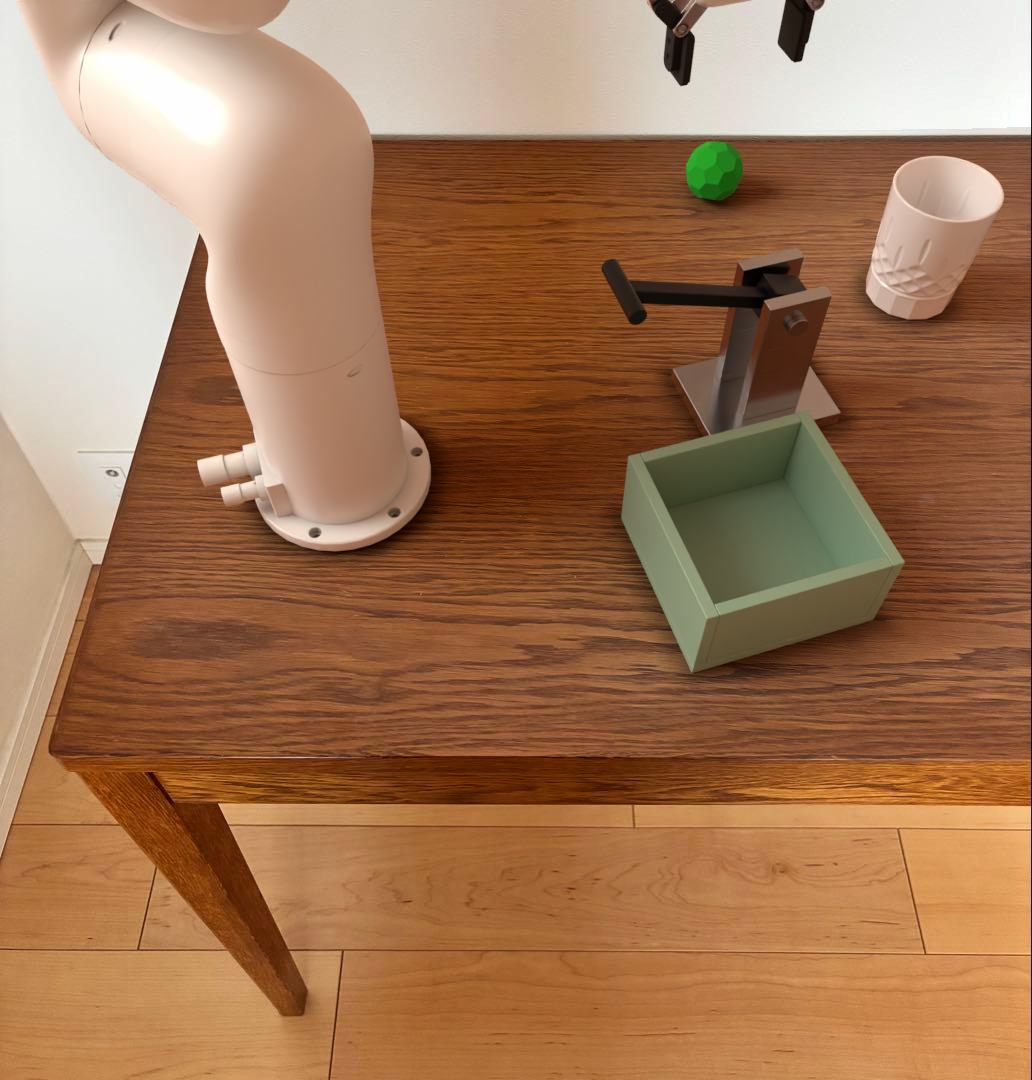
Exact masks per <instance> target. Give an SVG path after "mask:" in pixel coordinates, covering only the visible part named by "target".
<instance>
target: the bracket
mask: <svg viewBox="0 0 1032 1080" xmlns="http://www.w3.org/2000/svg"><path fill="white" fill-rule="evenodd" d="M804 260H805V256H804V255H803V253H802V251H801V250H800V249H799V247H793V248H790V249H785V250H781V251H776V252H771V253H767V254H763V255H760V256H759V255H758V256H755V257H750V258H746V259H742V260H738V261H737V264H736V269H735V273H734V278H733V284H732V286H749V287H756V286H757V284H758V282H759V281H760V279H761V277H762V275H763V274H764V273H766V274H782V275H796V276H798V278H800V275H801V274H800V273H801V270H802V266H803V263H804V262H803V261H804ZM832 297H833V294H832V293H831V291H830V290H829V289H828V287H827V286H826V285H822V286H819V287H815V288H810V289H807V290H806V291H801V292H797V293H793V294H789V295H784V296H780V297H776V298H772V299H767V300H764V302H763V306H762V311H761V315H760V319H758V317H757V316H756V314H755V312H754V311H753V309H752V308H730V307H727V311H726V312H727V313H726V317H725V321H724V327H723V332H722V336H721V341H720V346H719V349H718V350H719V351H718V356H717V357H715V358H710V359H706V360H702V361H698V362H693V363H690V364H686V365H682V366H677V367H673V368H672V369H671V370H672V371H671V378H670V379H671V383H673V385H674V387H675V389H676V391H677V392H678V394H679V396H680V398H681V400H682V402H683V403H684V405H685V408H686V409H687V411H688V412H689V415H690V416H691V418H692V420H693V422H694V423H695V425H696V427H697V430H698V431H699V433H700V435H701V437H705V436H709V435H713V434H717V433H721V432H725V431H729V430H733V429H737V428H741V427H745V426H748V425H752V424H756V423H760V422H764V421H768V420H772V419H776V418H780V417H784V416H788V415H791V414H797V413H799V412H803V411H808V412H809V413H810V415H811V416H812V418H813V420H814V421H815V423H816V424H817V426H818V427H819V428H823V427H827V426H831V425H834V424H835V425H836V424H837V423H838V421H839V419H840V417H841V410H840V409H839V407H838V406H837V404H836V403H835V402H834V399H832V397H831V395H830V394H829V392H828V391H827V389H826V387H825V386H824V384H823V383H822V381H821V380H820V379H819V377H818V376H817V375H816V373H815V371H814V369H813V368H812V367H811V363H812V361H813V357H814V355H815V351H816V348H817V344H818V342H819V338H820V335H821V331H822V330H823V329H822V328H823V327H824V326H823V325H824V322H825V319H826V316H827V313H828V310H829V307H830V303H831V301H832Z"/></svg>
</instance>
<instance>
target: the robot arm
mask: <svg viewBox="0 0 1032 1080" xmlns="http://www.w3.org/2000/svg"><path fill="white" fill-rule="evenodd" d="M290 1H291V0H15V2H16V4H17V6H18V9H19V12H20V14H21V16H22V19H23V21H24V24H25V26H26V28H27V30H28V31H27V32H28V33H29V35H30V38H31V41H32V43H33V44H34V47H35V49H36V53H37V54H38V57H39V59H40V62H41V64H42V66H43V68H44V71H45V73H46V75H47V77H48V80H49V82H50V84H51V87H52V89H53V91H54V93H55V94H56V96H57V99H58V100H59V102H60V104H61V106H62V108H63V109H64V111H65V113H66V114H67V116H68V118H69V120H70V121H71V122H72V125H74V127H75V128H76V130H77V131H78V132H79V133H80V135H81V136H82V137H83V138H84V139H85V140H86V141H87V142H88V143H89V144H90V145H91V146H92V147H93V148H94V149H95V150H97V151H98V152H99V153H100V154H101V155H102V156H104V157H105V158H106V159H108V160H109V161H110V162H112V163H113V164H114V165H115V166H117V167H118V168H119V169H121V170H122V171H124V172H125V173H127V174H128V175H130V176H131V177H133V178H134V179H135V180H136V181H138V182H140V183H141V184H143V185H144V186H145V187H147V188H148V189H150V190H151V191H152V192H153V193H154V194H155V195H157V196H158V197H159V198H161V199H162V200H163V201H164V202H166V203H168V204H169V205H170V206H172V207H173V208H175V209H176V210H177V211H178V212H179V213H181V214H182V215H183V216H184V217H185V218H186V219H188V221H189V222H191V224H192V225H193V226H194V227H195V228H196V229H197V231H198V233H199V234H200V237H201V238H202V240H203V242H204V245H205V247H206V250H207V255H208V259H207V260H208V262H207V270H206V273H205V293H206V299H207V302H208V306H209V311H210V314H211V317H212V320H213V323H214V325H215V328H216V331H217V334H218V337H219V339H220V342H221V344H222V346H223V348H224V351H225V354H226V356H227V359H228V361H229V364H230V367H231V370H232V373H233V376H234V378H235V381H236V384H237V386H238V387H237V388H238V390H239V392H240V395H241V398H242V400H243V404H244V406H245V409H246V411H247V414H248V418H249V419H250V423H251V425H252V428H253V429H252V431H253V435H254V442H250V443H247V444H243V445H242V451H237V452H233V453H228V454H225V455H224V453H222V454H218V455H214V456H210V457H206V458H201V459H198V460H197V461H196V462H197V469H198V472H199V476H200V477H199V478H200V480H201V482H202V485H203V486H204V488H207V487H211V486H215V485H219V484H223V483H229V482H232V481H231V480H234V479H239V478H244V477H247V476H249V477H250V479H251V481H248V482H247V481H246V482H242V483H240V482H238V483H233V484H230V485H226V486H222V487H220V493H221V497H222V498H221V499H222V500H223V503H224V506H225V507H226V508H229V507H231V506H237V505H240V504H244V503H245V502H248V501H253V500H254V501H255V504H256V506H257V509H258V512H259V513H260V515H261V516H262V519H263V520H264V522H265V523H266V524H267V526H269V528H270V529H271V530H273V532H274V533H276V534H277V535H278V536H280V537H282V538H283V539H285V540H286V541H287V542H290V543H292V544H295V545H296V546H299V547H302V548H307V549H311V550H315V551H324V552H326V551H327V552H342V551H343V552H344V551H351V550H356V549H360V548H361V549H362V548H365V547H369V546H371V545H375V544H376V543H378V542H381V541H383V540H385V539H387V538H389V537H390V536H392V535H394V534H395V533H397V532H398V531H400V530H402V528H403V527H404V526H406V525H407V524H408V523H409V522H411V520H412V519H413V518H414V517H415V516H416V514H417V513H418V512H419V510H420V509H421V508H422V507H423V505H424V503H425V500H426V498H427V496H428V494H429V491H430V486H431V482H432V465H431V461H430V454H429V450H428V448H427V446H426V443H425V441H424V439H423V438H422V437H421V436H420V434H419V432H418V431H417V430H416V429H415V428H414V427H413V426H412V425H411V424H410V423H409V422H408V421H406V420H405V419H403V418H401V415H400V409H399V403H398V397H397V393H396V386H395V381H394V375H393V369H392V363H391V357H390V351H389V346H388V340H387V339H388V338H387V334H386V328H385V323H384V317H383V311H382V306H381V299H380V293H379V288H378V282H377V276H376V269H375V262H374V252H373V245H372V244H373V243H372V203H373V190H374V175H375V155H374V146H373V145H374V144H373V141H372V140H373V139H372V136H371V131H370V128H369V125H368V123H367V120H366V118H365V117H364V114H363V112H362V110H361V108H360V107H359V106H358V104H357V102H356V101H355V99H354V98H353V97H352V95H351V94H350V92H348V91H347V89H346V88H345V87H344V86H343V85H342V83H340V82H339V81H338V80H337V79H336V78H335V77H334V76H333V75H332V74H331V73H329V72H328V71H327V70H326V69H324V68H323V67H322V66H321V65H319V64H318V63H317V62H315V61H314V60H313V59H311V58H309V57H308V56H306V55H305V54H303V53H301V51H298V50H296V49H295V48H293V47H291V46H290V45H287V44H286V43H284V42H282V41H280V40H278V39H276V38H275V37H273V36H271V35H269V34H267V33H266V32H264V31H262V30H261V29H260V28H263V27H265V26H267V25H269V24H270V23H271V22H273V21H274V20H275V19H277V18H278V17H279V16H280V15H281V14H282V13H283V12H284V11H285V9H286V8H287V6H288V5H289V3H290ZM750 1H752V0H646V2H647V5H648V7H649V8H650V9H651V11H652V12H653V13H654V15H655V16H656V17H657V18H658V19H659V20H660V21H661V22H662V23H663V24H664V25H665V26H666V29H665V40H664V48H663V65H664V67H665V70H667V72H668V73H670V74H671V76H672V77H673V78H674V80H675V81H676V82H677V85H679V87H684V86H687V85H689V84H690V82H691V76H692V67H693V62H694V61H693V60H694V53H695V45H696V37H695V35H694V33H693V32H692V31H691V30H692V29H693V27H694V26H695V25H696V24H697V23H698V21H699V20H700V18H702V16H703V15H704V13H705V12H706V11H707V10H708V9H709V8H718V7H724V6H730V5H734V4H740V3H745V2H750ZM825 3H826V0H785V2H784V5H783V12H782V17H781V21H780V27H779V30H778V31H779V32H778V38H777V46H778V47H779V48H780V49H781V50H782V51H783V53H784V54H785V55H786V56H787V58H788V59H789V60H790V61H791V62H793V63H800V62H802V61H803V59H804V55H805V50H806V45H807V44H808V43H809V40H810V36H811V32H812V27H813V23H814V18H815V14H816V11H819V10H820V9H821V8H823V6H824V4H825Z"/></svg>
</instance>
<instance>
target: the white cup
mask: <svg viewBox="0 0 1032 1080" xmlns="http://www.w3.org/2000/svg"><path fill="white" fill-rule="evenodd" d="M1004 200H1005V192H1004V189H1003V186H1002V184H1001V183H1000V181H999V180H998V179H997V178H996V176H994V175H993V174H992V173H991V172H990V171H989V170H987V169H985V168H983V167H982V166H981V165H978V164H977V163H973V162H971V161H969V160H965V159H962V158H958V157H955V156H954V157H953V156H948V155H947V156H945V155H929V156H928V155H927V156H921V157H917V158H913V159H911V160H909V161H907V162H905V163H904V164H902V165H901V166H899V168H898V169H897V170H896V171H895V172H894V176H893V179H892V182H891V187H890V189H889V192H888V196H887V200H886V203H885V207H884V210H883V213H882V217H881V220H880V224H879V227H878V231H877V234H876V239H875V244H874V246H873V249H872V255H871V261H870V266H869V268H868V272H867V274H866V279H865V294H866V295H867V296H868V298H869V299H870V301H871V303H872V304H873V305H874V306H875V307H877V308H878V309H880V310H881V311H882V312H885V313H886V314H887V315H890V316H894V317H896V318H901V319H905V320H928V319H930V318H933V317H935V316H937V315H940V314H942V313H943V311H944V310H945V309H946V307H947V306H948V305H949V304H950V302H951V301H952V298H953V296H954V295H955V292H956V290H957V288H958V286H959V285H960V284H961V283H962V281H963V280H964V278H965V276H966V274H967V273H968V271H969V269H970V267H971V266H972V265H973V264H972V263H973V262H974V260H975V258H976V256H977V254H978V253H979V250H980V249H981V247H982V245H983V243H984V240H985V239H986V237H987V235H988V233H989V231H990V229H991V227H992V225H993V223H994V222H995V219H996V217H997V215H998V213H999V212H1000V210H1001V208H1002V206H1003V204H1004Z"/></svg>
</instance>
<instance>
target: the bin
mask: <svg viewBox="0 0 1032 1080" xmlns="http://www.w3.org/2000/svg"><path fill="white" fill-rule="evenodd" d="M620 520H621V522H622V524H623V526H624V528H625V531H626V533H627V535H628V537H629V539H630V541H631V544H632V545H633V548H634V550H635V552H636V555H637V557H638V558H639V561H640V563H641V566H642V567H643V569H644V572H645V574H646V577H647V578H648V581H649V582H650V585H651V588H652V590H653V591H654V594H655V596H656V598H657V600H658V602H659V605H660V607H661V609H662V611H663V614H664V616H665V618H666V620H667V623H668V624H669V627H670V628H671V631H672V634H673V636H674V637H675V640H676V642H677V644H678V646H679V648H680V651H681V653H682V655H683V657H684V659H685V661H686V664H687V666H688V668H689V670H690V673H691V674H694V673H697V672H701V671H704V670H708V669H711V668H715V667H718V666H721V665H724V664H728V663H732V662H735V661H738V660H741V659H745V658H749V657H752V656H755V655H759V654H762V653H766V652H769V651H773V650H776V649H779V648H782V647H786V646H789V645H793V644H797V643H800V642H803V641H806V640H810V639H813V638H816V637H821V636H824V635H826V634H830V633H834V632H838V631H840V630H844V629H847V628H850V627H854V626H857V625H861V624H864V623H867V622H871V621H874V619H875V617H876V615H877V613H878V612H879V610H880V608H881V606H882V605H883V603H884V601H885V599H886V598H887V596H888V594H889V593H890V591H891V589H892V587H893V585H894V584H895V581H897V580H896V579H897V577H898V576H899V575H900V572H901V571H902V569H903V568H904V565H905V563H906V561H905V560H904V558H903V557H902V555H901V554H900V552H899V550H898V548H897V547H896V546H895V544H894V543H893V541H892V540H891V537H889V535H888V533H887V531H886V530H885V529H884V527H883V526H882V524H881V522H880V521H879V519H878V518H877V515H875V513H874V511H873V510H872V508H871V507H870V505H869V503H868V502H867V501H866V498H865V497H864V496H863V495H862V493H861V491H860V489H859V488H858V487H857V485H856V483H855V482H854V480H853V479H852V477H851V476H850V474H849V473H848V470H846V467H845V466H844V465H843V463H842V462H841V460H840V458H839V457H838V456H837V454H836V452H835V451H834V449H833V448H832V446H831V444H830V443H829V441H828V440H827V438H826V437H825V435H824V433H823V432H822V431H821V429H820V427H818V426H817V424H816V423H815V421H814V420H813V418H812V416H811V415H810V413H809V412H808V411H803V412H799V413H797V414H791V415H788V416H784V417H780V418H776V419H772V420H768V421H764V422H760V423H756V424H752V425H748V426H745V427H741V428H737V429H733V430H729V431H725V432H721V433H717V434H713V435H709V436H705V437H703V436H701V437H698V438H694V439H690V440H686V441H682V442H677V443H674V444H670V445H666V446H662V447H659V448H655V449H651V450H647V451H642V452H640V453H635V454H631V455H628V456H627V463H626V473H625V480H624V489H623V498H622V507H621V515H620Z"/></svg>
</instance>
